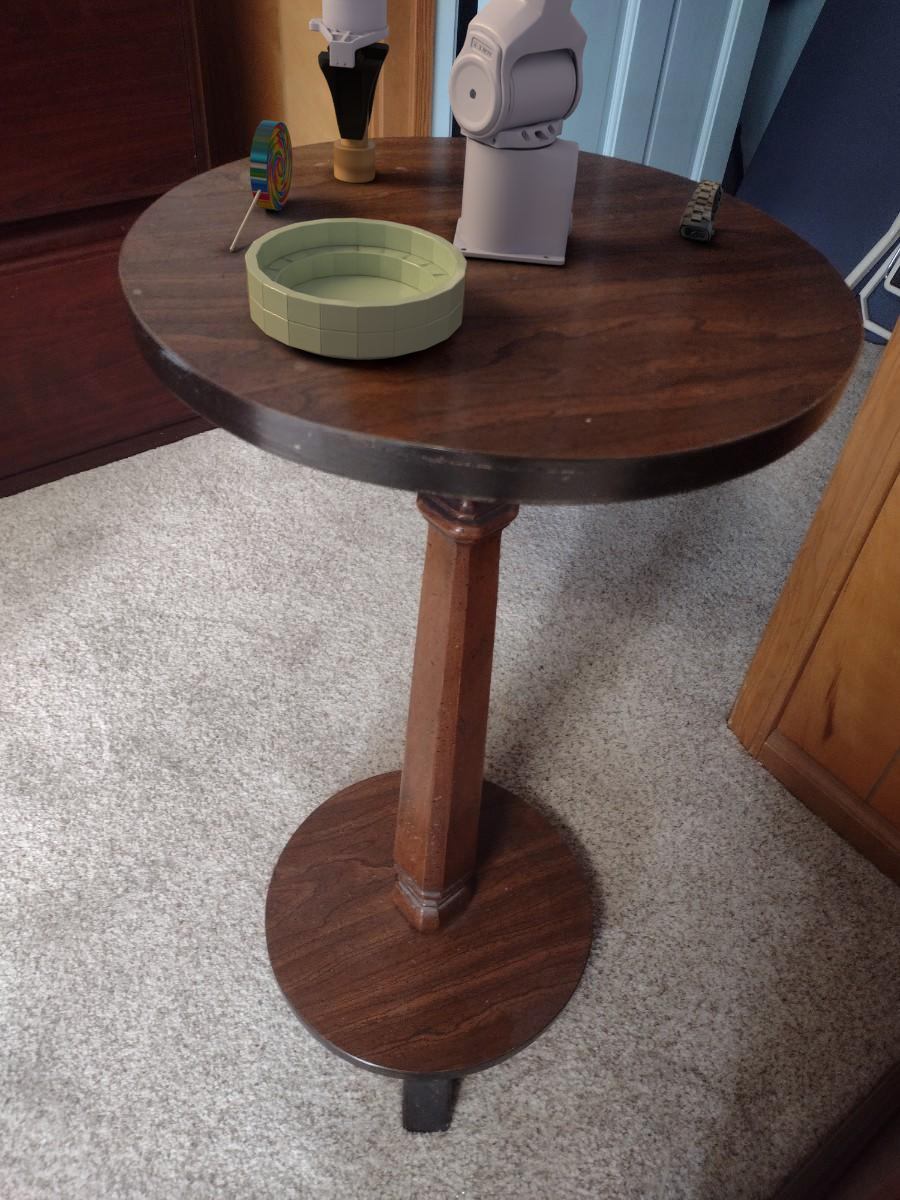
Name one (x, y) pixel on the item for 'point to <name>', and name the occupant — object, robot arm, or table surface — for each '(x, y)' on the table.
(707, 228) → the wristwatch
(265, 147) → the lollipop
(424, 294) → the bowl
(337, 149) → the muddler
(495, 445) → the table surface
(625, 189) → the table surface
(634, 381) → the table surface
